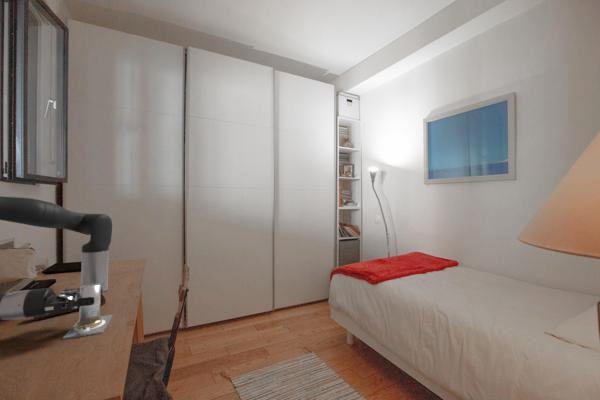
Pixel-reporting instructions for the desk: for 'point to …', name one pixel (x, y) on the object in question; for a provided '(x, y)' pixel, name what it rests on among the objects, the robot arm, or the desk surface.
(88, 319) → the clear glass cylinder
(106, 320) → the board
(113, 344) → the desk surface
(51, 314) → the hand tool
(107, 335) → the desk surface
